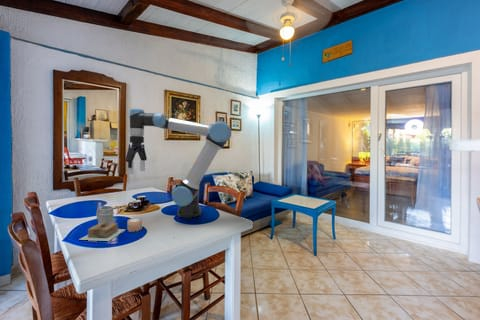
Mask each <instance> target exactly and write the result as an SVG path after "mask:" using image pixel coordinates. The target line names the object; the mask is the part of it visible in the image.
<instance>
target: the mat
mask: <svg viewBox="0 0 480 320" xmlns="http://www.w3.org/2000/svg"><path fill="white" fill-rule="evenodd" d="M125 231H126V228H125V229H124V228H122V229H121V228H118V231H117V232H116V233H114V234H113V235H111V236H109V237H108V238H90V237H88V234H86V235H85V236H83V237H80V238H79V239H78V241H79V240H88V241H87V242H97V241H108V242H107V243H109V242H111V241H113V240H114V239H115V238H116V236H117V237H118V236H119V234H120V233H121V234H122V233H124V232H125ZM121 234H120V235H121ZM113 238H114V239H113ZM110 240H111V241H110Z"/></svg>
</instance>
